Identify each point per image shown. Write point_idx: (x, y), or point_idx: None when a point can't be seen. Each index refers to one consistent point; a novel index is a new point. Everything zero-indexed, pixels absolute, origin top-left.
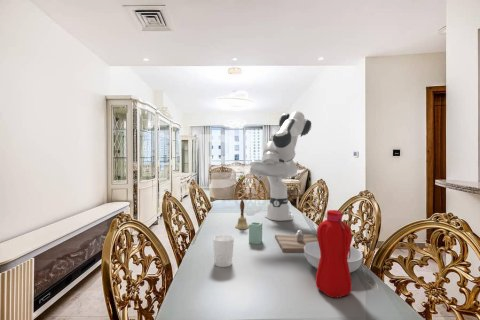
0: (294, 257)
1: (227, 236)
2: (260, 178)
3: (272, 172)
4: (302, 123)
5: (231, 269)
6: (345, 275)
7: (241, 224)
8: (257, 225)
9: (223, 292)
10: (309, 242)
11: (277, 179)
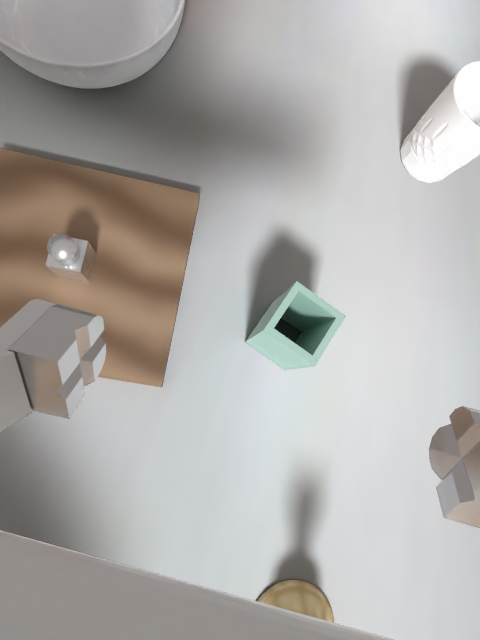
0: (177, 141)
1: (471, 126)
2: (469, 411)
3: (106, 570)
4: None
5: (404, 114)
6: None
7: (309, 611)
8: (303, 286)
9: (431, 13)
10: (37, 234)
11: (56, 334)
